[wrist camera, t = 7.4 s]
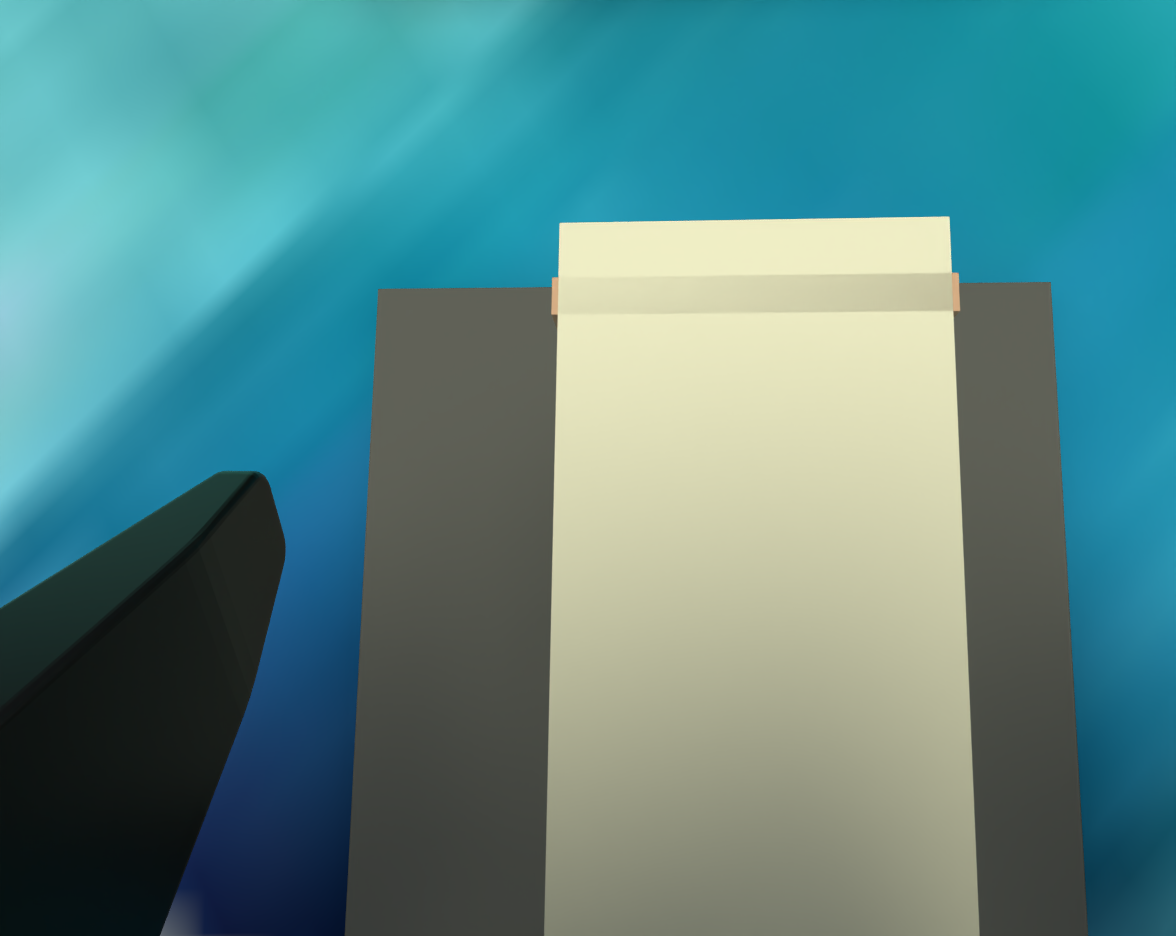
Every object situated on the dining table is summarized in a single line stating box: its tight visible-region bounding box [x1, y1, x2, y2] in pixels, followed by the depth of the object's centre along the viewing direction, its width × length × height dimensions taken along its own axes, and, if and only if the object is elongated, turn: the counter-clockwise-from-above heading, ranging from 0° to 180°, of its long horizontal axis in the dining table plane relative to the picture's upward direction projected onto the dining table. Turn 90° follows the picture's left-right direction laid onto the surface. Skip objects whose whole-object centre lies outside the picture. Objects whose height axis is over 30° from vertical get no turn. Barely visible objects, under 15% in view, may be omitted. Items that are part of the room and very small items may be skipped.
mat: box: [345, 282, 1088, 936], centre depth 18 cm, size 12×12×1 cm
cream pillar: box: [544, 217, 980, 936], centre depth 12 cm, size 6×3×10 cm, turn 179°
